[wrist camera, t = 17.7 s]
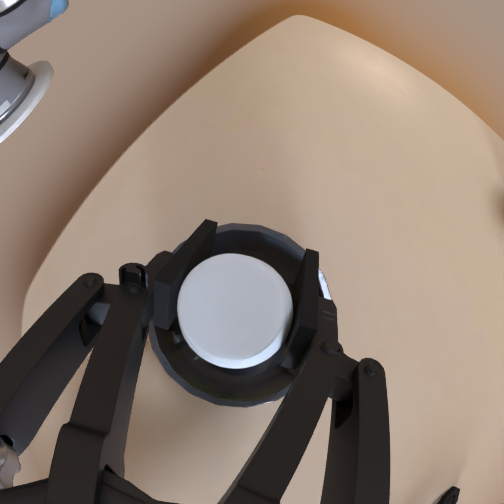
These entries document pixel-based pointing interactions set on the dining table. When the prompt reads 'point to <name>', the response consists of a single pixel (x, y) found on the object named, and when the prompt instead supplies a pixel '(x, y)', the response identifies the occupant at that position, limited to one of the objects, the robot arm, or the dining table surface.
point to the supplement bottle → (234, 310)
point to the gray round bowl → (242, 379)
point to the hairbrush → (450, 496)
